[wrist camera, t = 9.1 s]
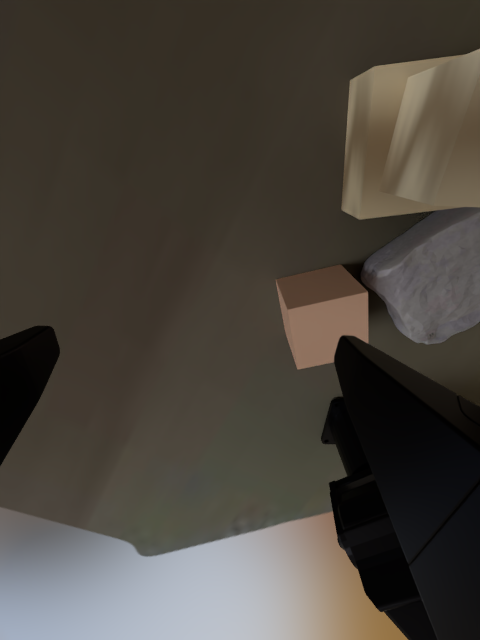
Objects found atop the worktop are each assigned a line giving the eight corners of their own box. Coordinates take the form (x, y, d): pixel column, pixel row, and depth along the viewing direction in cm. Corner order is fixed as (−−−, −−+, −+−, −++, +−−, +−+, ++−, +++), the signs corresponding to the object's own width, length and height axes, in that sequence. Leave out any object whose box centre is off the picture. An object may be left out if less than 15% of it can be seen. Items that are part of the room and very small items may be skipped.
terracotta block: (343, 318, 24) (368, 355, 20) (285, 331, 25) (297, 369, 21) (340, 263, 22) (368, 291, 18) (275, 278, 22) (287, 309, 18)
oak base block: (440, 197, 20) (478, 205, 17) (339, 209, 20) (359, 219, 17) (470, 65, 16) (525, 46, 13) (348, 81, 17) (375, 66, 14)
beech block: (462, 194, 17) (545, 209, 12) (378, 190, 16) (433, 205, 12) (506, 83, 14) (630, 54, 10) (408, 77, 14) (490, 44, 10)
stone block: (521, 248, 24) (513, 141, 18) (581, 279, 20) (594, 158, 15) (387, 325, 28) (345, 257, 22) (418, 363, 24) (376, 294, 18)
